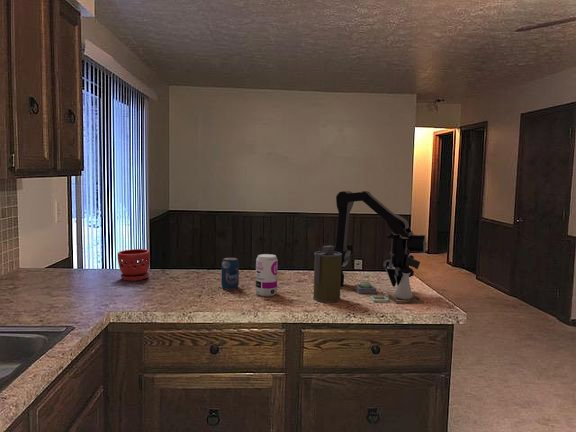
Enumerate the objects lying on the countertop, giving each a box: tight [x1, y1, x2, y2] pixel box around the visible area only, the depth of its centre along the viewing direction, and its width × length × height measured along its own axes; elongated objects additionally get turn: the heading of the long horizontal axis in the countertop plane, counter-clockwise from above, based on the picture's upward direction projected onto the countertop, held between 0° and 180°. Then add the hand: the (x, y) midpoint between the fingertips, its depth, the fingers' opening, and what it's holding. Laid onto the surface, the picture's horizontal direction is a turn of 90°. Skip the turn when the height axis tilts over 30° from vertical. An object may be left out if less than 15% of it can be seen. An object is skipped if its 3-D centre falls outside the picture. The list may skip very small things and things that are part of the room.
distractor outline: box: [369, 295, 391, 303], centre depth 181 cm, size 6×6×1 cm
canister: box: [312, 244, 342, 304], centre depth 180 cm, size 11×10×20 cm
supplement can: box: [255, 253, 279, 297], centre depth 186 cm, size 8×8×15 cm
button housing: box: [354, 283, 377, 295], centre depth 194 cm, size 7×7×2 cm
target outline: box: [387, 293, 424, 305], centre depth 182 cm, size 10×10×1 cm
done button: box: [360, 281, 371, 288], centre depth 194 cm, size 4×4×2 cm
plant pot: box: [117, 248, 151, 282], centre depth 206 cm, size 13×13×12 cm
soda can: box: [220, 256, 240, 291], centre depth 194 cm, size 7×7×12 cm
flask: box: [393, 273, 414, 300], centre depth 184 cm, size 7×7×10 cm
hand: (397, 288), depth 192 cm, fingers open, 7 cm apart
